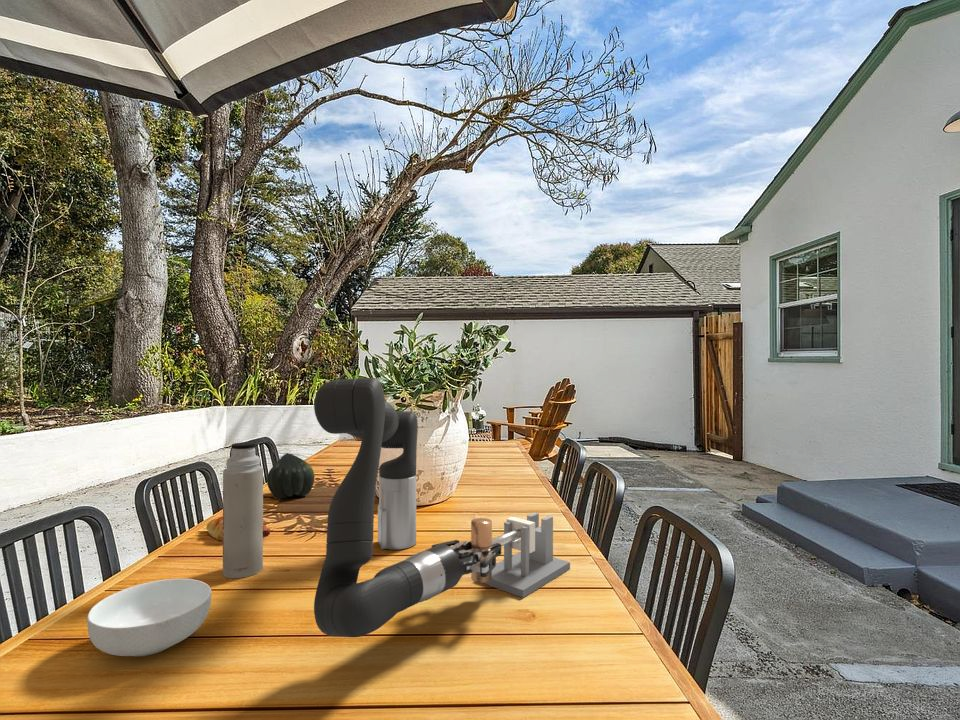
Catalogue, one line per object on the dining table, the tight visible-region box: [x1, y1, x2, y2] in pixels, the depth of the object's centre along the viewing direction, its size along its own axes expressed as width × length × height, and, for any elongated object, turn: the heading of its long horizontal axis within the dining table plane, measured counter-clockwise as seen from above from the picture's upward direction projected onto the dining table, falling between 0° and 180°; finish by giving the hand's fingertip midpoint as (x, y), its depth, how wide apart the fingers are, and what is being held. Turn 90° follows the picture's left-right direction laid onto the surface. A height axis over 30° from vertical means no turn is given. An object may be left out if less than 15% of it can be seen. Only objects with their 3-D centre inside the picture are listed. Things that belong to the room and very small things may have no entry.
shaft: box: [470, 517, 521, 584], centre depth 103 cm, size 19×4×11 cm, turn 140°
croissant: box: [205, 515, 271, 541], centre depth 132 cm, size 21×10×8 cm, turn 70°
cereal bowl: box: [86, 578, 212, 657], centre depth 82 cm, size 17×17×7 cm
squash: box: [266, 452, 315, 499], centre depth 172 cm, size 14×15×15 cm
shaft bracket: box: [483, 511, 571, 599], centre depth 109 cm, size 18×12×12 cm, turn 140°
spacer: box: [506, 516, 535, 553], centre depth 108 cm, size 2×6×6 cm, turn 50°
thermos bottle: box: [222, 441, 264, 579], centre depth 110 cm, size 8×8×28 cm
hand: (490, 545), depth 100 cm, fingers closed on shaft, 4 cm apart
